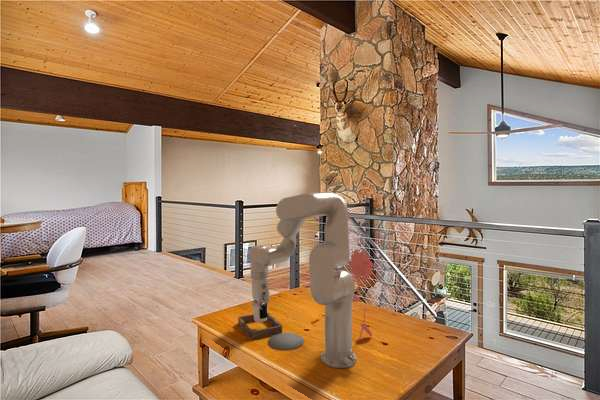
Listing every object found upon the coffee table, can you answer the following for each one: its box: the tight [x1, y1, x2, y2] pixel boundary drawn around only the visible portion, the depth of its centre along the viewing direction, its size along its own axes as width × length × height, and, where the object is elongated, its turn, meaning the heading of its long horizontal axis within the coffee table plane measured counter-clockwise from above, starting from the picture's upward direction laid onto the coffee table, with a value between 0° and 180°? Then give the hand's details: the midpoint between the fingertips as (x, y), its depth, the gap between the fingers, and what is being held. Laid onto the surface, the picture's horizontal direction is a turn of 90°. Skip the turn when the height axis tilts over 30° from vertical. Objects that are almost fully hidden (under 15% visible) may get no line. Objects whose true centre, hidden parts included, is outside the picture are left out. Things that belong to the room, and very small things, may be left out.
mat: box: [267, 332, 305, 351], centre depth 134 cm, size 14×14×1 cm
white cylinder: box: [251, 300, 269, 323], centre depth 146 cm, size 7×7×7 cm
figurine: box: [337, 248, 385, 346], centre depth 143 cm, size 15×26×35 cm, turn 41°
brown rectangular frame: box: [237, 312, 283, 341], centre depth 147 cm, size 18×14×3 cm
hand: (260, 315), depth 146 cm, fingers closed on white cylinder, 6 cm apart
